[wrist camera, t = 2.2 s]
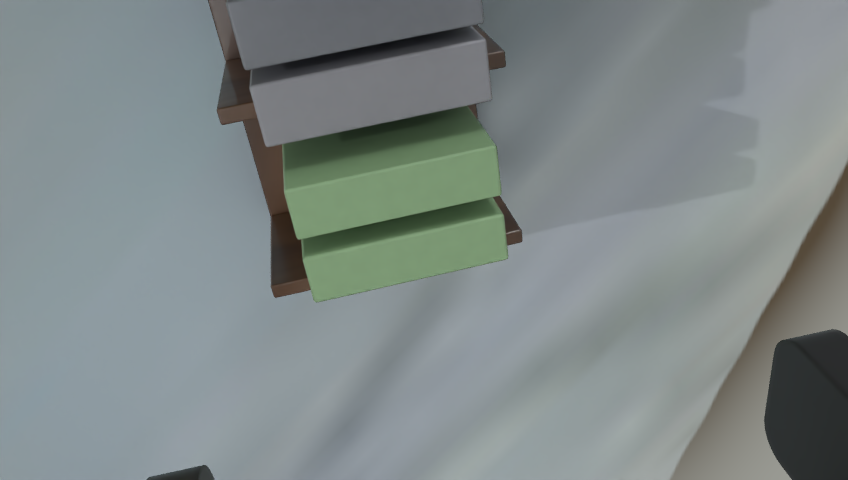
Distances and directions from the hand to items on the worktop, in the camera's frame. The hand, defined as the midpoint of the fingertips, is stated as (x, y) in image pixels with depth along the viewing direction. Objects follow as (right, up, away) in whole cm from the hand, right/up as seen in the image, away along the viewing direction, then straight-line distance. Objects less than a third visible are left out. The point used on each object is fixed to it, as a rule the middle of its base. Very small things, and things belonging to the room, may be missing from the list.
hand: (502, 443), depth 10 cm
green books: (-4, +9, +21) cm, 23 cm away
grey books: (-5, +13, +19) cm, 23 cm away
